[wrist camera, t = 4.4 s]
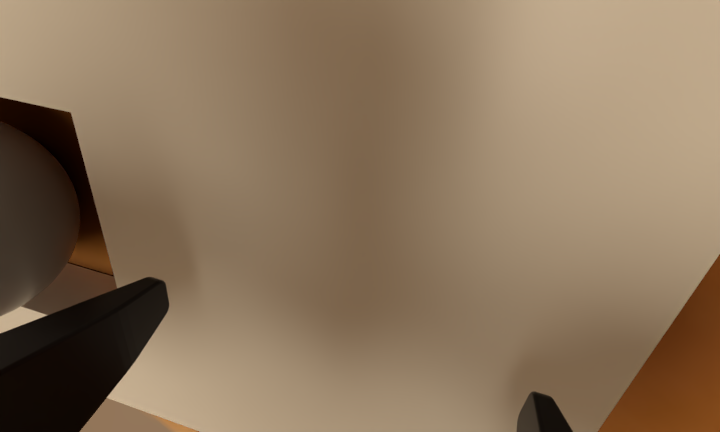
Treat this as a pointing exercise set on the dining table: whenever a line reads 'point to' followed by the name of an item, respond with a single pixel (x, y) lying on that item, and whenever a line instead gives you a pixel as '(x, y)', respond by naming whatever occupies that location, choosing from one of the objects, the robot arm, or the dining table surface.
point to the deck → (385, 198)
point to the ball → (32, 218)
